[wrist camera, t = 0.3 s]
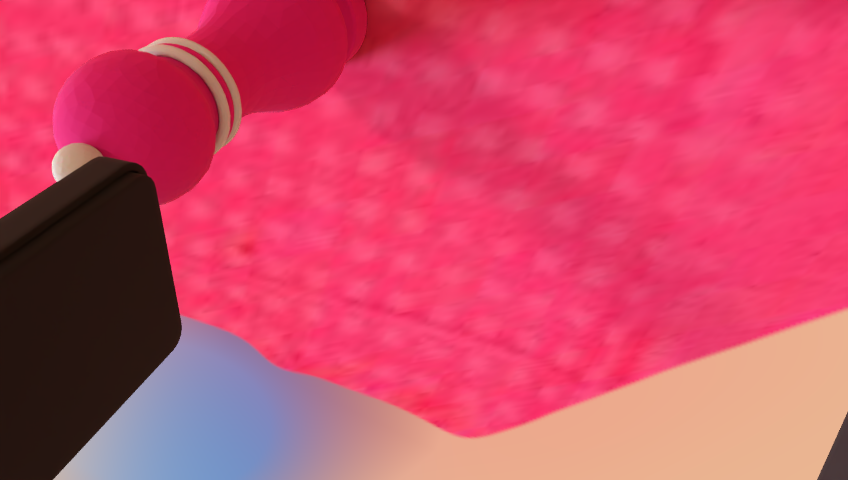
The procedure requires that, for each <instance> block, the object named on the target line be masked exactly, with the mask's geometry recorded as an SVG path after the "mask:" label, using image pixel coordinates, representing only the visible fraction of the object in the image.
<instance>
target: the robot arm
mask: <svg viewBox="0 0 848 480" xmlns="http://www.w3.org/2000/svg"><path fill="white" fill-rule="evenodd" d="M181 330H182V325H181V318H180V313H179V308H178V302H177V297H176V292H175V286H174V281H173V276H172V271H171V265H170V260H169V255H168V249H167V244H166V239H165V233H164V228H163V223H162V217H161V212H160V207H159V201H158V196H157V191H156V186H155V183H154V181H153V180H152V178H151V177H149V176H147V173H146V171H145V169H144V168H143V167H142V166H141V165H139V164H138V163H134V162H129V161H124V160H119V159H114V158H109V157H102V156H99V157H96V158H94V159H92V160H90V161H89V162H87V163H86V164H84V165H82V166H81V167H79V168H78V169H76V170H75V171H73V172H72V173H70V174H69V175H67V176H65V177H64V178H62V179H61V180H59V181H58V182H56V183H55V184H53V185H52V186H50V187H49V188H47V189H45V190H44V191H42V192H41V193H39V194H38V195H36V196H35V197H33V198H32V199H30V200H29V201H27V202H25V203H24V204H22V205H21V206H19V207H18V208H16V209H15V210H13V211H12V212H10V213H8V214H7V215H5V216H4V217H2V218H1V219H0V480H53V479H54V478H55V477H56V476H57V475H58V474H59V472H60V471H61V470H62V469H63V468H64V467H65V466H66V465H67V464H68V463H69V462H70V461H71V460H72V458H73V457H74V456H75V455H76V454H77V453H78V452H79V451H80V450H81V449H82V448H83V447H84V446H85V445H86V443H87V442H88V441H89V440H90V439H91V438H92V437H93V436H94V435H95V434H96V433H97V432H98V431H99V429H100V428H101V427H102V426H103V425H104V424H105V423H106V422H107V421H108V420H109V418H111V417H112V415H113V414H114V413H115V412H116V411H117V410H118V409H119V408H120V407H121V406H122V404H124V402H125V401H126V400H127V399H128V398H129V397H130V396H131V395H132V394H133V393H134V392H135V391H136V390H137V389H138V387H139V386H140V385H141V384H142V383H143V382H144V381H145V380H146V379H147V378H148V377H149V376H150V375H151V373H152V372H153V371H154V370H155V369H156V368H157V367H158V366H159V365H160V364H161V363H162V362H163V361H164V359H165V358H166V357H167V356H168V355H169V354H170V353H171V352H172V351H173V350H174V348H175V347H176V345H177V343H178V341H179V339H180V336H181ZM817 480H848V413H847V415H846V417H845V419H844V422H843V424H842V426H841V428H840V430H839V433H838V435H837V437H836V439H835V442H834V444H833V446H832V448H831V450H830V453H829V455H828V457H827V459H826V462H825V464H824V466H823V468H822V470H821V473H820V475H819V477H818V479H817Z"/></svg>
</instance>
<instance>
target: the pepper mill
mask: <svg viewBox="0 0 848 480" xmlns="http://www.w3.org/2000/svg"><path fill="white" fill-rule="evenodd" d="M366 30H367V12H366V6H365V2H364V0H208V1H207V3H206V5H205V7H204V10H203V13H202V16H201V18H200V21H199V24H198V28H197V30H196V31H195V32H193V33H192V34H191V35H189V36H188V37H187V38H185V39H184V38H179V37H166V38H162V39H159V40H156V41H154V42H152V43H151V44H149V45H148V46H146V47H143V48H141V49H139V50H138V51H137V50H118V51H110V52H107V53H105V54H102V55H99V56H97V57H94V58H92V59H90V60H88V61H87V62H86V63H84V64H83V65H81V66H80V67H79V68H77V69H76V70H75V71H74V72H73V73H72V74H71V75H70V77H69V78H68V79H67V80H66V81H65V83H64V84H63V86H62V88H61V89H60V91H59V93H58V96H57V99H56V102H55V106H54V111H53V135H54V138H55V141H56V145H57V148H58V152H57V153H56V155H55V156H54V159H53V161H52V173H53V176H54V178H55V180H56V181H57V182H58V181H59V180H61V179H62V178H64V177H65V176H67V175H69V174H70V173H72V172H73V171H75V170H76V169H78V168H79V167H81V166H82V165H84V164H86V163H87V162H89V161H90V160H92V159H94V158H96V157H99V156H102V157H109V158H114V159H119V160H124V161H129V162H134V163H138V164H139V165H141V166H142V167H143V168H144V169H145V171H146V173H147V176H149V177H151V178H152V180H153V181H154V183H155V186H156V191H157V196H158V201H159V205H162V204H166V203H168V202H171V201H173V200H175V199H177V198H179V197H180V196H182V195H184V194H185V193H187V192H188V191H190V190H191V189H192V188H193V187H194V186H195V185H196V184H197V183H198V182H199V181H200V180H201V179H202V177H203V176H204V175H205V173H206V172H207V171H208V169H209V167H210V164H211V161H212V158H213V155H214V154H215V153H217V152H218V151H219V150H220V149H221V148H222V147H223V146H225V145H226V144H228V143H229V142H230V141H231V140H232V139H233V138H234V136H235V135H236V133H237V131H238V129H239V126H240V122H241V118H242V117H243V116H245V115H248V114H251V113H257V112H284V111H288V110H292V109H296V108H299V107H302V106H304V105H307V104H309V103H311V102H312V101H314V100H315V99H317V98H318V97H320V96H322V95H323V94H325V93H326V92H327V91H328V90H329V89H330V88H331V87H332V86H333V85H334V84H335V82H336V81H337V79H338V78H339V76H340V74H341V72H342V70H343V67H344V65H345V63H346V62H347V61H348V60H350V59H351V58H352V57H353V56H354V55H355V54H356V53H357V52H358V50H359V49H360V47H361V45H362V43H363V41H364V38H365V34H366Z"/></svg>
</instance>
